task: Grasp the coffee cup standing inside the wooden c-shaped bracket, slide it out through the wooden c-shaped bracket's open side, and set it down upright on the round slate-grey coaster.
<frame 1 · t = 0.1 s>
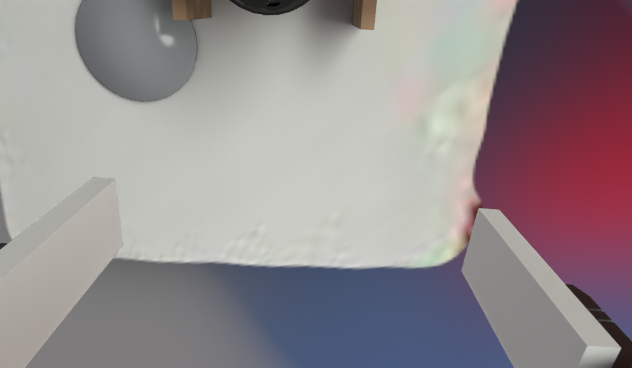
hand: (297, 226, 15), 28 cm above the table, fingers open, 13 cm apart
coaster: (138, 41, 39), on the table
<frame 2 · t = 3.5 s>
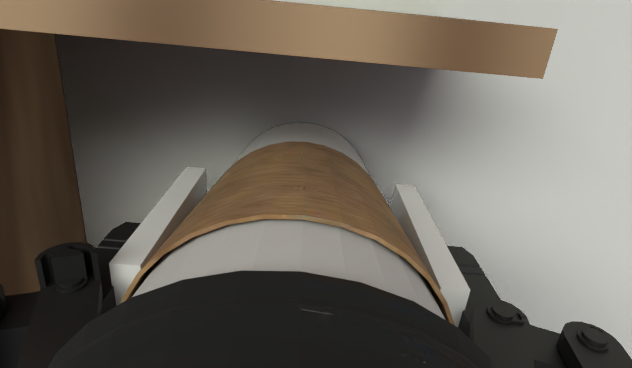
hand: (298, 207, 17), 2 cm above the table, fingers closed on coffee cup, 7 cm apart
wooden c-shaped bracket: (233, 180, 19), on the table
coffee cup: (300, 183, 19), on the table, touching gripper
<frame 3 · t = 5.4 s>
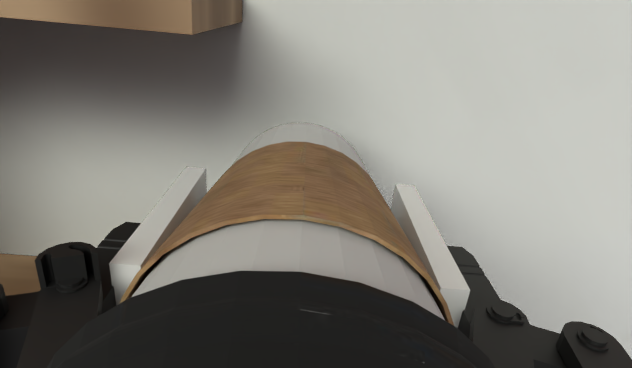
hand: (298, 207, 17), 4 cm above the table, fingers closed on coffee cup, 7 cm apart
wooden c-shaped bracket: (75, 148, 20), on the table
coffee cup: (300, 183, 19), point 2 cm above the table, touching gripper
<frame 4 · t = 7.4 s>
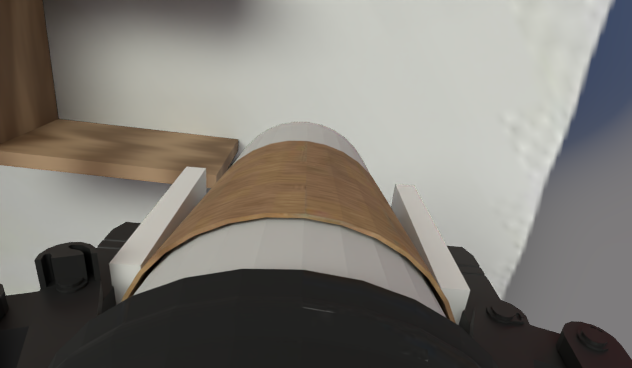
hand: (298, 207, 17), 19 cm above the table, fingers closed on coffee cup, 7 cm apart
wooden c-shaped bracket: (138, 48, 32), on the table
coffee cup: (301, 183, 19), point 16 cm above the table, touching gripper
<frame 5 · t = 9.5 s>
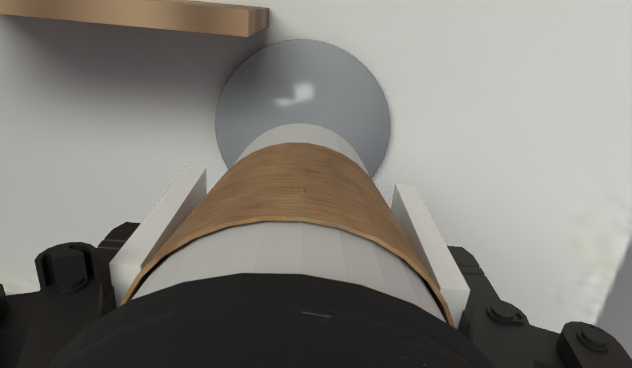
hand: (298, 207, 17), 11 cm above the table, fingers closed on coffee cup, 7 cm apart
coaster: (303, 129, 27), on the table
coffee cup: (300, 184, 19), point 9 cm above the table, touching gripper
when the fingers open (4 cm above the table, at t = 11.3 s): coffee cup stays where it is, resting on coaster.
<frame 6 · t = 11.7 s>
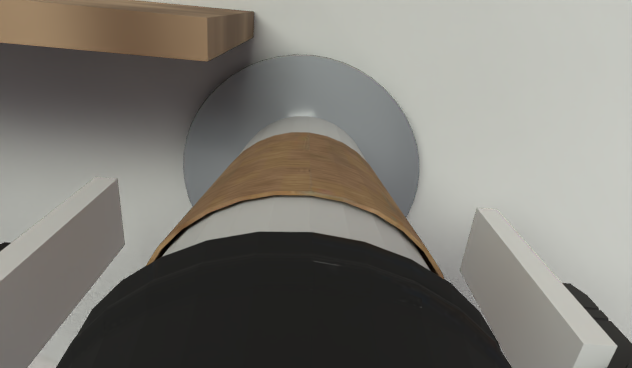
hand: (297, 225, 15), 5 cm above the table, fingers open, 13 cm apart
coaster: (301, 173, 20), on the table
coffee cup: (302, 175, 20), resting on coaster
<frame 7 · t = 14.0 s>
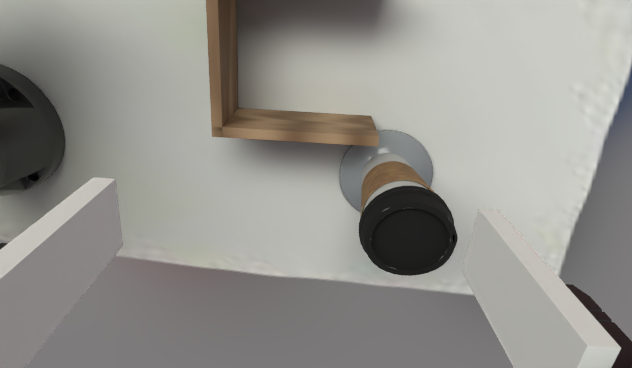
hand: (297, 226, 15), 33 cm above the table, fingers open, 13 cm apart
wooden c-shaped bracket: (302, 51, 44), on the table
coaster: (385, 174, 50), on the table
coffee cup: (386, 175, 49), resting on coaster
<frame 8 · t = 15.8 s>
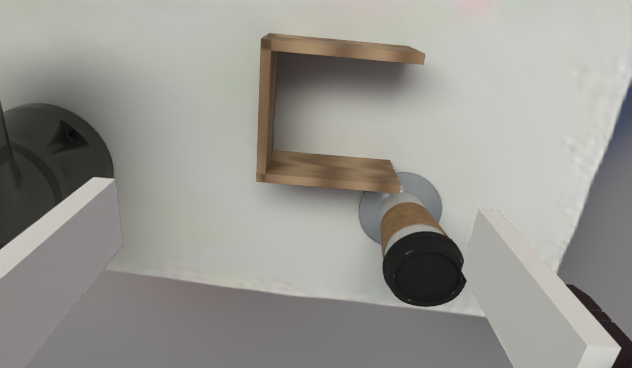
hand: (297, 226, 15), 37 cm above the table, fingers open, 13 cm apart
wooden c-shaped bracket: (332, 104, 50), on the table
coaster: (399, 210, 56), on the table
coffee cup: (400, 211, 56), resting on coaster
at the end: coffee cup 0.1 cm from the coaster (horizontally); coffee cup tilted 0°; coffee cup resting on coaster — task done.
